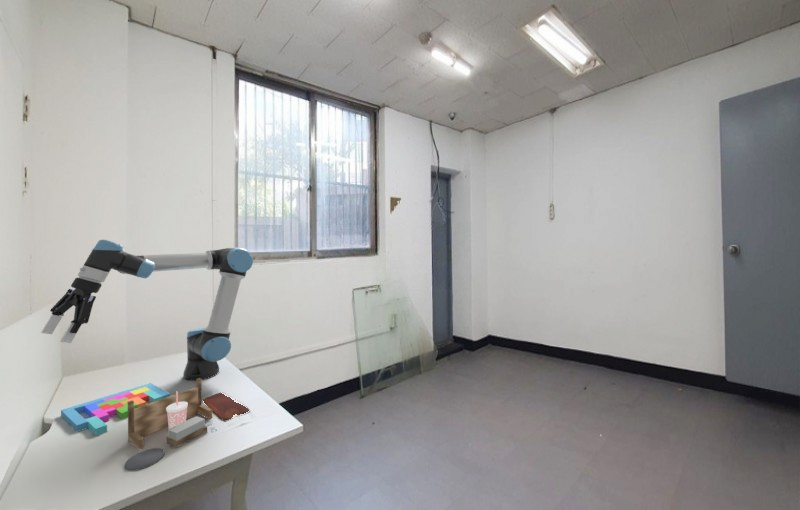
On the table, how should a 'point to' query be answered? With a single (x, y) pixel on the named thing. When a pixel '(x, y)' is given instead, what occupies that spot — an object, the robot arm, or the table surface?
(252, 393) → the table surface
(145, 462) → the coaster
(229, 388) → the table surface
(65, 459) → the table surface
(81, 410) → the tetris game
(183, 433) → the offcut upper
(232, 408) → the wooden tablet
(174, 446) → the offcut lower
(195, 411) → the rack
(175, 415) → the beverage cup
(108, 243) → the robot arm
